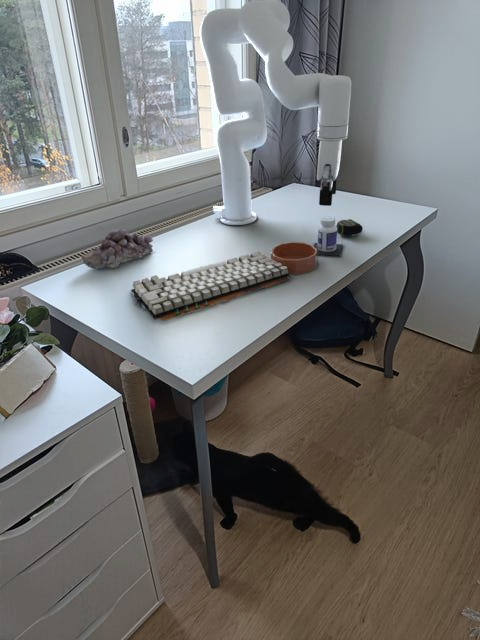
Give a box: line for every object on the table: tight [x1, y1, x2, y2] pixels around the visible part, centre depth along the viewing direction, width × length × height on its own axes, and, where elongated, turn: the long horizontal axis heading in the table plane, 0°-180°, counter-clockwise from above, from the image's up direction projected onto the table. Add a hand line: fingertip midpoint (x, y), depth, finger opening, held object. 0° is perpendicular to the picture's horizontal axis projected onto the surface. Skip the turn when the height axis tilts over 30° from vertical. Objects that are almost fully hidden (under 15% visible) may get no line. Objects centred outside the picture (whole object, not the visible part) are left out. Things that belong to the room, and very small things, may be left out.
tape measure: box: [335, 218, 363, 237], centre depth 137 cm, size 7×7×4 cm
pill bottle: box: [317, 216, 338, 252], centre depth 126 cm, size 5×5×9 cm
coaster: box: [313, 242, 343, 257], centre depth 129 cm, size 8×8×1 cm
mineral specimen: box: [81, 228, 154, 270], centre depth 128 cm, size 20×10×10 cm
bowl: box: [270, 241, 318, 275], centre depth 121 cm, size 12×12×4 cm
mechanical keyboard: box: [130, 250, 292, 322], centre depth 113 cm, size 38×19×3 cm, turn 120°
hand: (327, 199), depth 122 cm, fingers open, 9 cm apart
